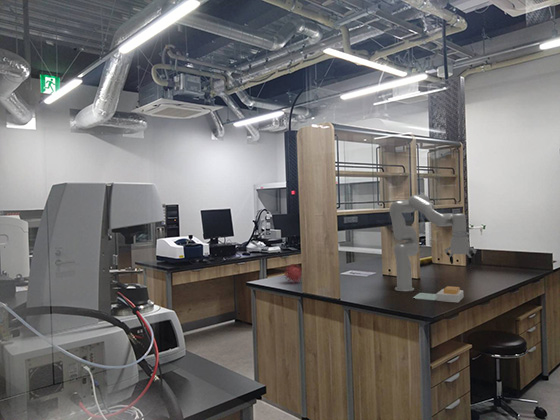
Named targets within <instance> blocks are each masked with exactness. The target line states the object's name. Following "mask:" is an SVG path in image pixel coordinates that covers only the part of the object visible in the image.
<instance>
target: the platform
mask: <svg viewBox="0 0 560 420" xmlns="http://www.w3.org/2000/svg"><path fill="white" fill-rule="evenodd" d="M444 289H445V288H442V289H441V290H439V291H438V292H437V293H435V294H436V300H435V301H439V302H447V303H460V301H461V300H463V298H464V296H465V295H464V290H462V289H460V291H459V292H458V293H457V294H445V293H444Z"/></svg>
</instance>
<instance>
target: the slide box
mask: <svg viewBox="0 0 560 420" xmlns="http://www.w3.org/2000/svg"><path fill="white" fill-rule="evenodd" d="M443 289H444V293H445V294H457V293H458V292H459V291H460V290H461V289H460V286H450V285H449V286H448V285H447V286H446V287H445V288H443Z"/></svg>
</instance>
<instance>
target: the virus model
mask: <svg viewBox="0 0 560 420" xmlns="http://www.w3.org/2000/svg"><path fill="white" fill-rule="evenodd" d="M284 269H285V271H284V276H285V279H286V281H287V282H294V283H295V282H296V283H297V282H298V283H300V282H301V280H302V276H301V275H302V270H301V267H299V265H298V264H297V263H290V264H289V265H287V266H286V268H284Z"/></svg>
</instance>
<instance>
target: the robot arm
mask: <svg viewBox="0 0 560 420" xmlns="http://www.w3.org/2000/svg"><path fill="white" fill-rule="evenodd" d="M417 211H418V212H419V213H421V214H422V215H424V216H425V218H426V219H427V220H428V221H429V222H430V223H431V224H434V225H435V226H438V227H451V230H452V236H451V237H450V246H449V247H447V248H445V249H444V252H445V253H446V255H447V256H448V257H449V263H450V265H453V264H454V255H467V256H468V257H467V260H468V262H467V263H468V264H467V265H469V266H470V265H471V264H473V262H472V261H473V260H472V259H473V257H474V256H475V254H476V253H477V251H478V250H477V249H475V248H473V247H471V245H470V239H469V236H470V233H469V232H467V221H466V220H467V217H466V214H465V213H440V212H438V211H436V210H435V204H434V203H432V202H431V200H430V198H429V196H428V195H426V194H413V195H410V197H409V198H408V199H401V200H396V201H394V202H392V204H391V205H390V207H389V216H390V219H391V224H392V230H393V236H394V239H395V240H396V241H401V242H398V243H397V244H395V245H394V248H393V250H394V251H393V252H394V255H395V256H394V257H395V265H396V266H395V267H396V268H395V269H396V286H395V287H394V290H395V291H397V292H413V291H415V288H414V287H413V286H412V285H413V282H412V280H413V279H412V261H411V259H410V257H412V256H413V257H414V256H415V255H417V254H418V253H419V248H420V247H419V241H418V236H417V231H416V230H415V228H414V227H413V226H410V225H406V219H405V217H404V216H403V214H404V213H405V214H407V213H414V212H417ZM402 241H405V242H402ZM449 250H450V252H449ZM471 251H472V253H471Z"/></svg>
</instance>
